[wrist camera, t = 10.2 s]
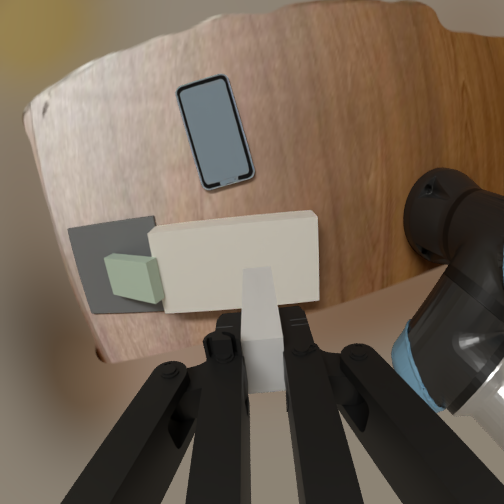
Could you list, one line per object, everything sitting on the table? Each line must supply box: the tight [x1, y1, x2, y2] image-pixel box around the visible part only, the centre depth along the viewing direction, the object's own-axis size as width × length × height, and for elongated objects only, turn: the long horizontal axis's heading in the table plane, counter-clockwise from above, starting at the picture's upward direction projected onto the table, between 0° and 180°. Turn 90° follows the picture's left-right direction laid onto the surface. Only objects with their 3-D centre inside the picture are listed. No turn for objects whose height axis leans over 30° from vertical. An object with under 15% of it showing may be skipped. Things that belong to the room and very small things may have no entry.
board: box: [147, 210, 319, 314], centre depth 43 cm, size 22×12×4 cm, turn 95°
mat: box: [68, 216, 164, 314], centre depth 45 cm, size 15×15×1 cm
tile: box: [104, 253, 164, 304], centre depth 42 cm, size 9×6×2 cm, turn 96°
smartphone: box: [175, 74, 255, 190], centre depth 39 cm, size 7×1×15 cm
